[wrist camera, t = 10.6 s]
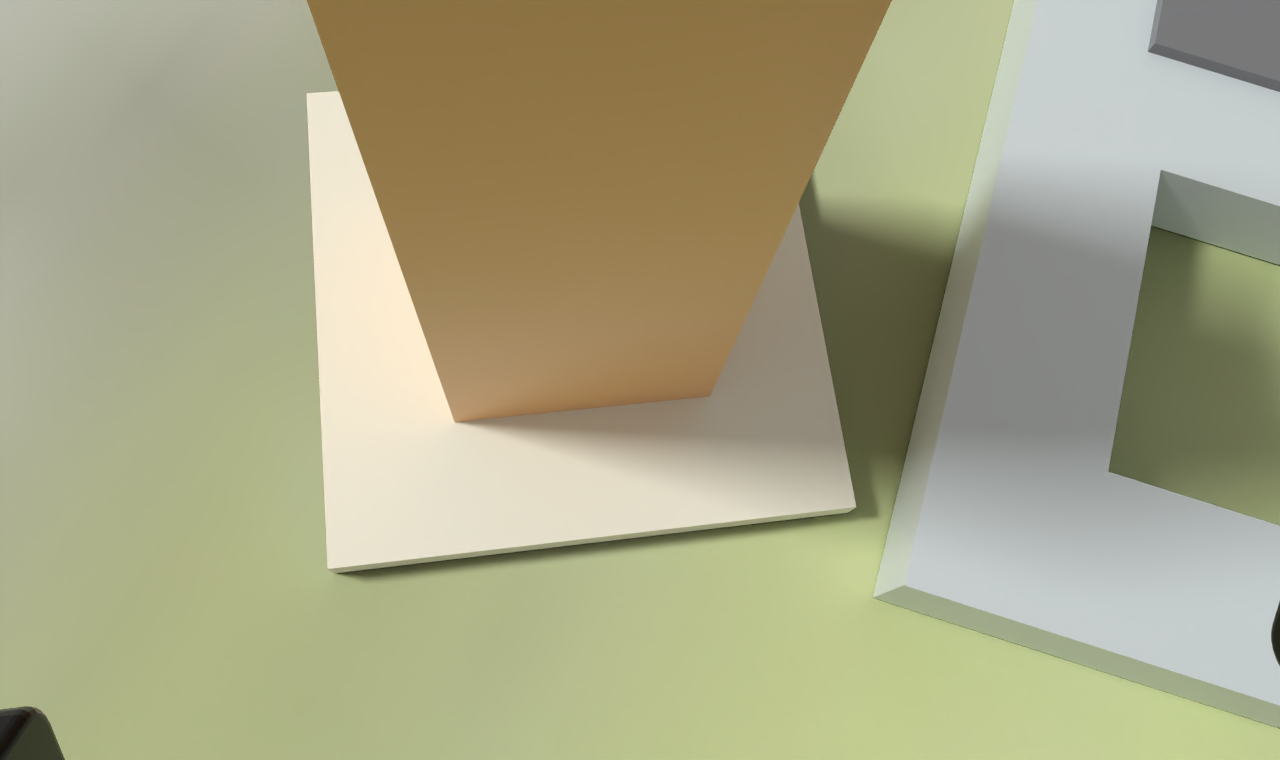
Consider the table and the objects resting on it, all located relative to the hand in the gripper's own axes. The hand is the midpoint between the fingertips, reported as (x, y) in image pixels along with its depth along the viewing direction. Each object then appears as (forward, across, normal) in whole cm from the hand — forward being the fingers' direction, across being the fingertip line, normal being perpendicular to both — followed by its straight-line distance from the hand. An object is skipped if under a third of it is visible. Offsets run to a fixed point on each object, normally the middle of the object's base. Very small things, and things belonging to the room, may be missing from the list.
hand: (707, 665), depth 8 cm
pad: (+15, 0, +4) cm, 15 cm away
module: (+14, 0, +3) cm, 15 cm away
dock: (+14, -15, +5) cm, 21 cm away
